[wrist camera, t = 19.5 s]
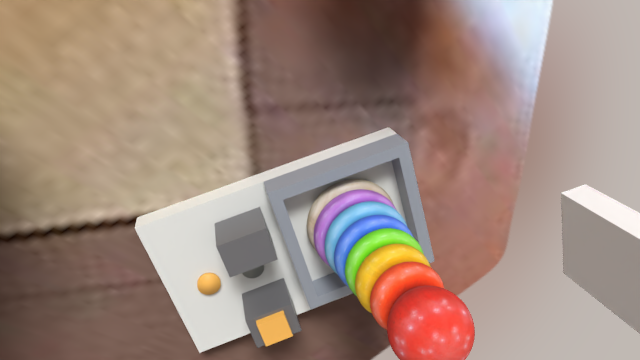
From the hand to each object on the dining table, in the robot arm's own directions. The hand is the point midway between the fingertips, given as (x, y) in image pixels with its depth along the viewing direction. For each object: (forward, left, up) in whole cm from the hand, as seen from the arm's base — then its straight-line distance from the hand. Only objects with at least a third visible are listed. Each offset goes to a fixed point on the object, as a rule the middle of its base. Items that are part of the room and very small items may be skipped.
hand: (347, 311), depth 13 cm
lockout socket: (+5, -13, -28) cm, 31 cm away
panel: (-1, -14, -30) cm, 33 cm away
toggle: (-4, -11, -28) cm, 30 cm away
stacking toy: (+5, -13, -28) cm, 31 cm away
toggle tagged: (-5, -18, -28) cm, 34 cm away
